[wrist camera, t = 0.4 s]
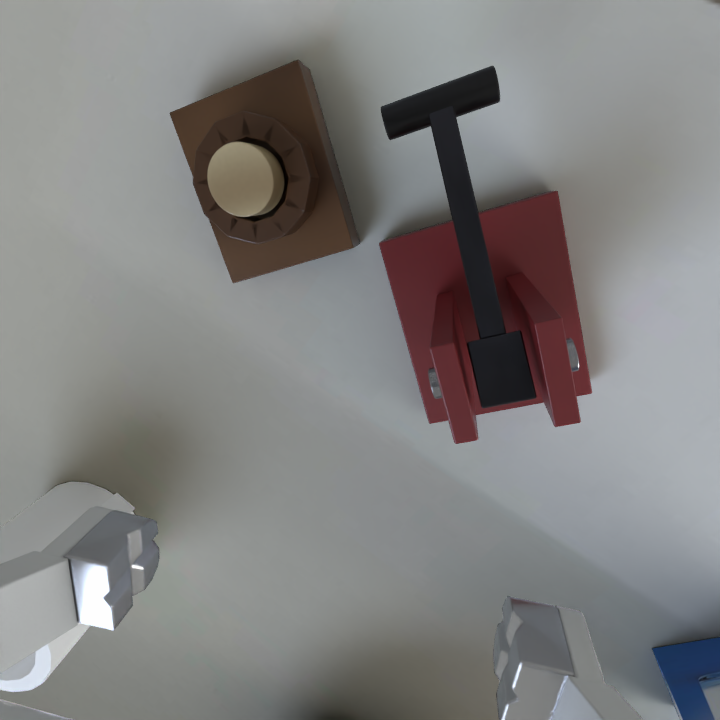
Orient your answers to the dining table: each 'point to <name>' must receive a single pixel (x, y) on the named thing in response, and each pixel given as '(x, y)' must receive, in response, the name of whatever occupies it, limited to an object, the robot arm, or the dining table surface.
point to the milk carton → (692, 677)
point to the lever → (469, 229)
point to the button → (245, 179)
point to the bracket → (517, 302)
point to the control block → (297, 159)
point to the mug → (36, 534)
